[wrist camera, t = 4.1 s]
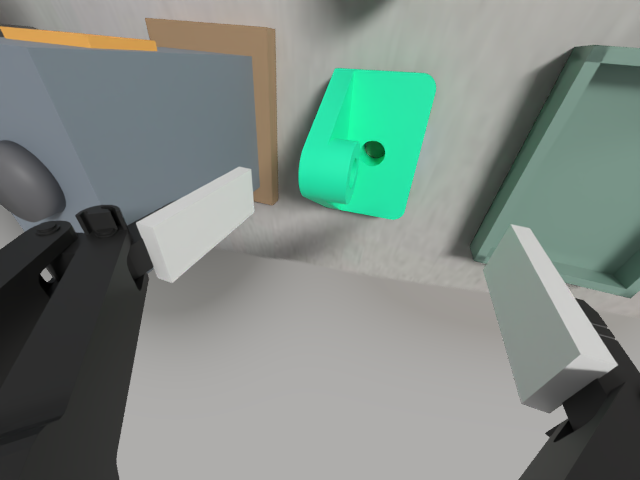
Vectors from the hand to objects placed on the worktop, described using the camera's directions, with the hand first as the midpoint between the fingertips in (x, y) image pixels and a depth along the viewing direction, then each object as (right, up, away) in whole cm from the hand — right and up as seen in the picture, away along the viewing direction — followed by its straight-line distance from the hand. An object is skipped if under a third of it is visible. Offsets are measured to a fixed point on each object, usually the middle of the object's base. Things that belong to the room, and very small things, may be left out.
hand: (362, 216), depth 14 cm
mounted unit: (-12, +11, +14) cm, 22 cm away
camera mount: (+3, +8, +11) cm, 14 cm away
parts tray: (+20, +3, +7) cm, 21 cm away
